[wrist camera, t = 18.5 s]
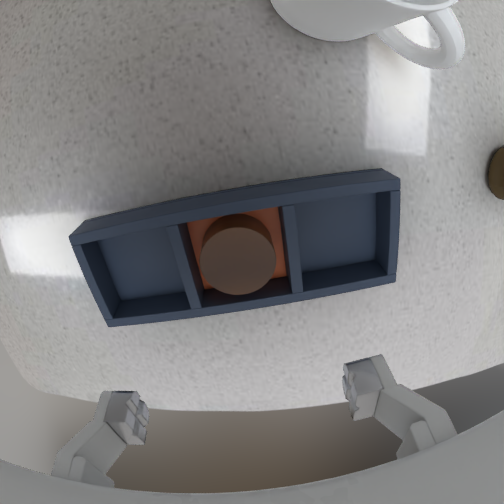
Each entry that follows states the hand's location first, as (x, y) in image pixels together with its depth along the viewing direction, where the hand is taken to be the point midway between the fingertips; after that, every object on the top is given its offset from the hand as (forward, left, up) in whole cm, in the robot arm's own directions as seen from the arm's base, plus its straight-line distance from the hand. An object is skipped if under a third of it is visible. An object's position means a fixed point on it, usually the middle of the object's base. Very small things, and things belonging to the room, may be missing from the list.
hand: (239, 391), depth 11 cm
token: (0, 0, -13) cm, 13 cm away
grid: (0, 0, -14) cm, 14 cm away
